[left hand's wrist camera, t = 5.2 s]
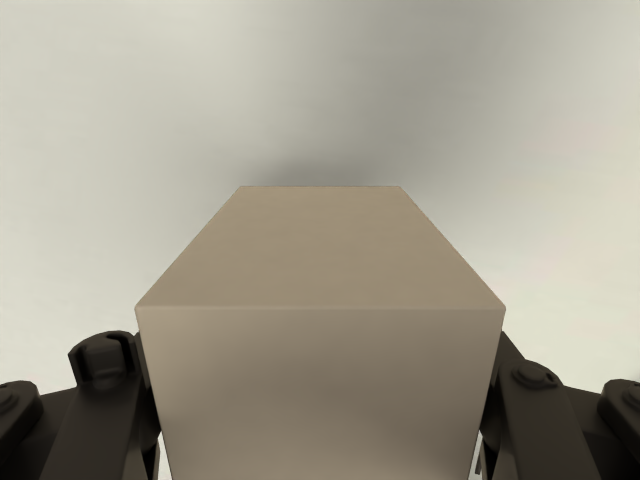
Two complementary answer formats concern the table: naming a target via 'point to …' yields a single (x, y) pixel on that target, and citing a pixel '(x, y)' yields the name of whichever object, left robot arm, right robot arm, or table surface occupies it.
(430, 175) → the table surface
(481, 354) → the box
